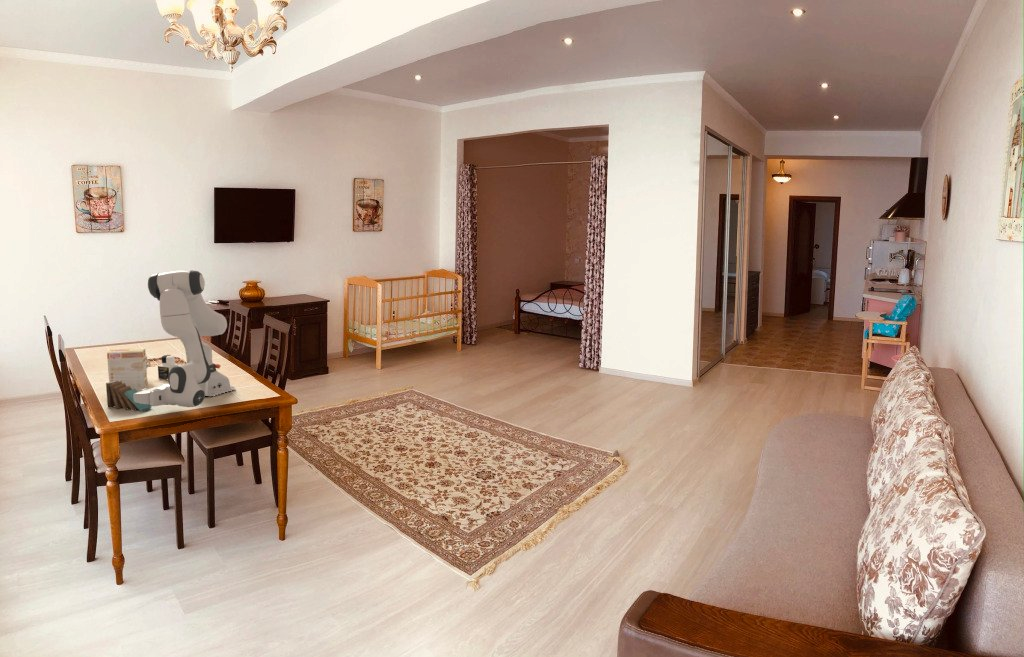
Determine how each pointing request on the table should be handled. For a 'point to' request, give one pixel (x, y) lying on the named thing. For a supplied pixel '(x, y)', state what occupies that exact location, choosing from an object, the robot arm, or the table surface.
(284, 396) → the table surface
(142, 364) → the coffeecake box
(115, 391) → the walnut domino
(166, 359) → the medicine bottle
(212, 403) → the table surface
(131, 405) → the walnut domino
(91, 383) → the table surface
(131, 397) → the teal domino
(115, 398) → the walnut domino
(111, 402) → the end domino
